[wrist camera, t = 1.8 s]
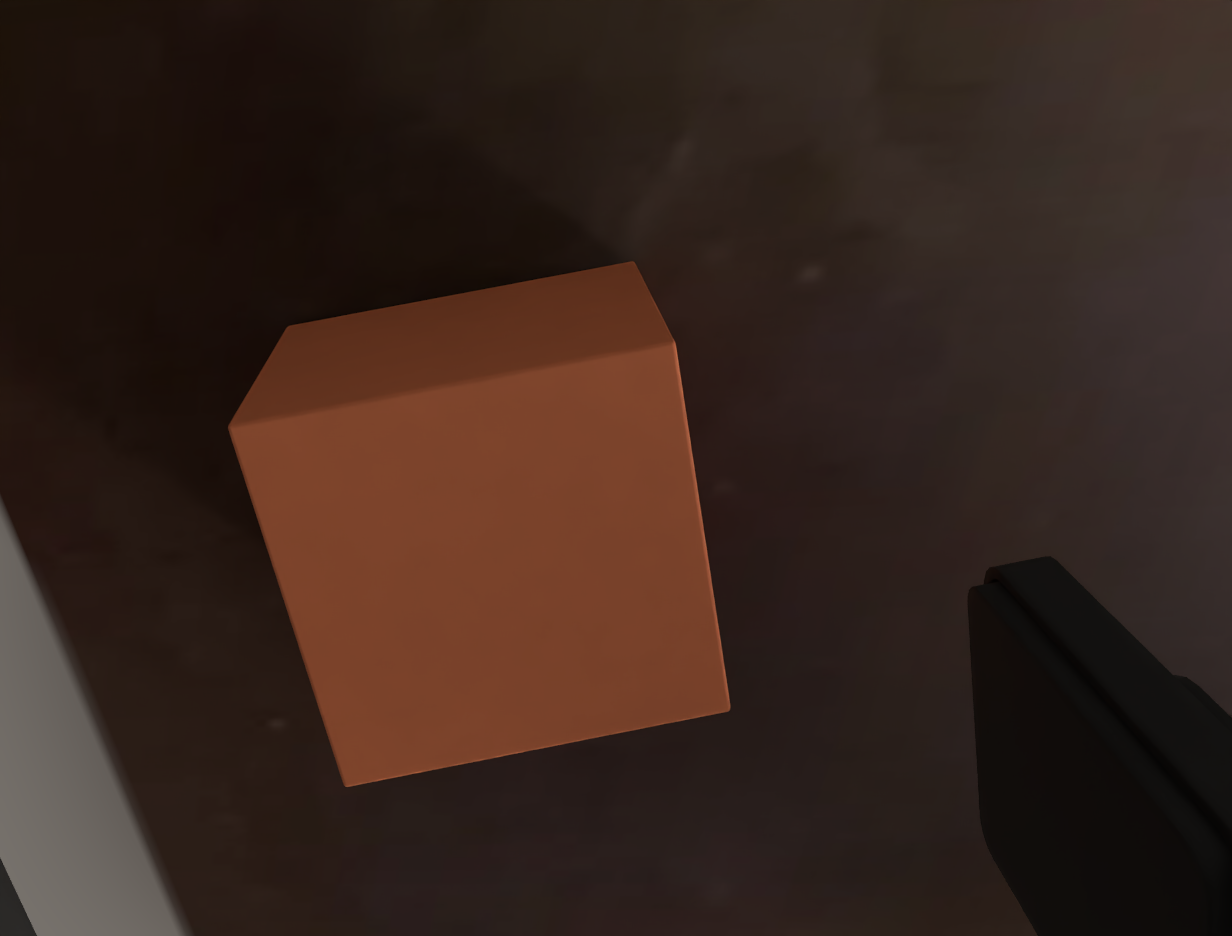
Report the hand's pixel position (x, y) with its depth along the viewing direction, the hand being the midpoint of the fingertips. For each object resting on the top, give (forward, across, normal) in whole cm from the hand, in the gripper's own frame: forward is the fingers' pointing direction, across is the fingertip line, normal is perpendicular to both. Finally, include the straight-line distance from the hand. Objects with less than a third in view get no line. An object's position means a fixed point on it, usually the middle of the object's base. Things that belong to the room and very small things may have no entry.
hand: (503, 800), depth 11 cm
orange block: (+7, 0, -1) cm, 7 cm away
